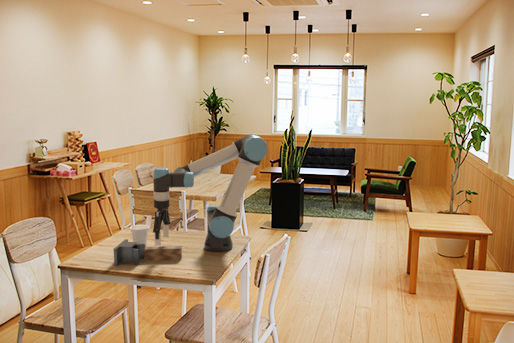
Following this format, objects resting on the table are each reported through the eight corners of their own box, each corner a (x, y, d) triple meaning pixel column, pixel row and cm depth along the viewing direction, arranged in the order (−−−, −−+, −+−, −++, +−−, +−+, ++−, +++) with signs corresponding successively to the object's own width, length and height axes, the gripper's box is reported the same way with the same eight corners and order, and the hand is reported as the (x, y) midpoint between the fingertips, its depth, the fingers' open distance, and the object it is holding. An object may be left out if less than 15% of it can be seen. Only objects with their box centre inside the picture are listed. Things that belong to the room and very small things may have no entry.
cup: (145, 250, 267) (144, 230, 265) (127, 249, 269) (126, 228, 267) (152, 244, 276) (151, 225, 274) (135, 243, 278) (134, 224, 276)
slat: (181, 257, 257) (181, 246, 256) (181, 260, 253) (181, 248, 252) (145, 258, 255) (145, 246, 254) (144, 260, 251) (144, 249, 250)
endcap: (147, 256, 257) (147, 240, 256) (137, 266, 243) (136, 249, 241) (125, 255, 259) (125, 239, 257) (114, 265, 244) (113, 248, 242)
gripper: (161, 193, 261) (162, 233, 265) (145, 204, 237) (146, 248, 240) (175, 194, 261) (176, 234, 264) (161, 205, 236) (161, 249, 240)
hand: (162, 241), depth 252 cm, fingers open, 13 cm apart
